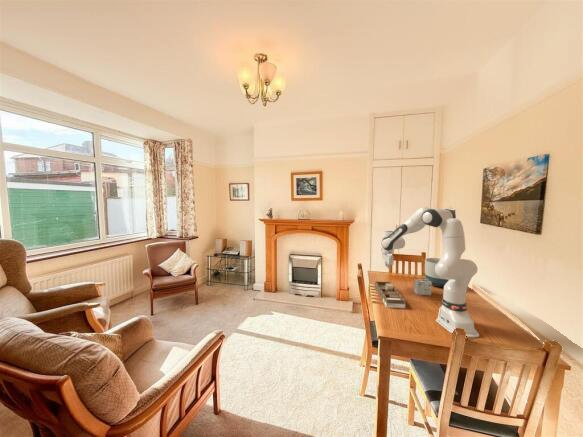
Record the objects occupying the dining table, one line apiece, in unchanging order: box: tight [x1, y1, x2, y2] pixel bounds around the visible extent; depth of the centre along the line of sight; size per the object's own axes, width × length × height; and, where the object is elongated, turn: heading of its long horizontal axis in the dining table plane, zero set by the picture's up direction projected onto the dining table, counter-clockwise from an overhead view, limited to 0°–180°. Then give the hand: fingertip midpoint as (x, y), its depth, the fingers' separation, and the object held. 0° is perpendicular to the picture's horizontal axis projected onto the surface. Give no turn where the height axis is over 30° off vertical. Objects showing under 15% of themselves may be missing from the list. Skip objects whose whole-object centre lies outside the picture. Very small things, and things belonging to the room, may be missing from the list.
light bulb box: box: [413, 278, 433, 296], centre depth 184 cm, size 11×7×11 cm, turn 84°
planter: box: [424, 257, 449, 288], centre depth 200 cm, size 20×20×21 cm
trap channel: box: [374, 280, 406, 309], centre depth 178 cm, size 35×12×6 cm, turn 173°
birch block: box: [386, 283, 394, 291], centre depth 184 cm, size 5×4×4 cm
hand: (387, 267), depth 190 cm, fingers open, 4 cm apart
